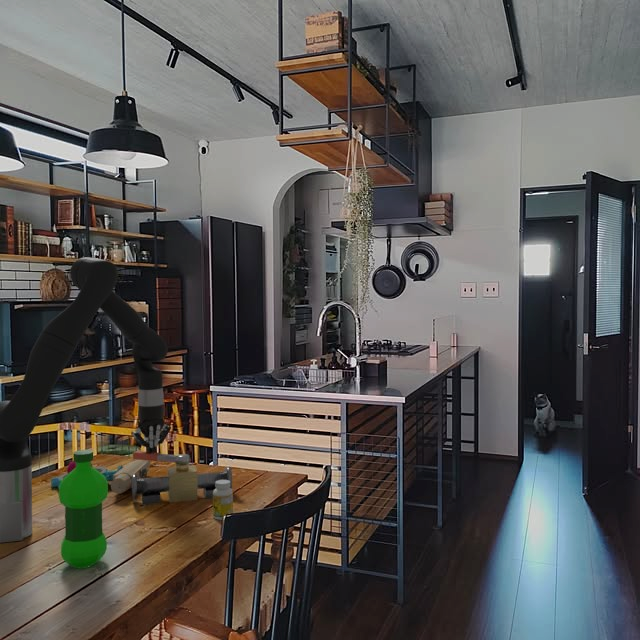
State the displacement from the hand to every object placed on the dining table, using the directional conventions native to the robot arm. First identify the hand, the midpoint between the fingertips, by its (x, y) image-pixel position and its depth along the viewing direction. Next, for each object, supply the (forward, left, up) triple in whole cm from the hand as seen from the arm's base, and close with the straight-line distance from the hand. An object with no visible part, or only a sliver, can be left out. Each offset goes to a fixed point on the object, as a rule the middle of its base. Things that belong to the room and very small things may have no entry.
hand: (152, 458), depth 187 cm
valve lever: (-6, -2, +1) cm, 6 cm away
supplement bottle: (-29, -17, -10) cm, 35 cm away
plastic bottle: (-49, +17, -10) cm, 53 cm away
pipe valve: (-10, -8, -10) cm, 16 cm away
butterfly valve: (+9, +16, -10) cm, 21 cm away
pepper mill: (-29, +19, -10) cm, 36 cm away
